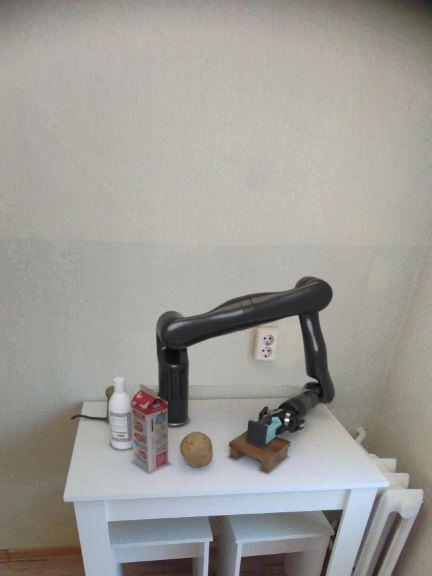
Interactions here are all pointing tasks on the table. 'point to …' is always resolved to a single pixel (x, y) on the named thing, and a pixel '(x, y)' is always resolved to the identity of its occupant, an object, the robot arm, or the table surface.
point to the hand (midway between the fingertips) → (267, 428)
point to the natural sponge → (196, 449)
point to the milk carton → (149, 429)
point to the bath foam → (120, 416)
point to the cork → (109, 393)
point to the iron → (263, 431)
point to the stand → (260, 451)
